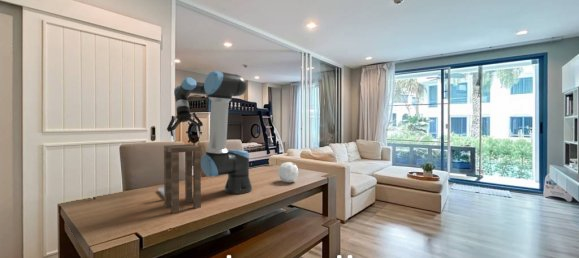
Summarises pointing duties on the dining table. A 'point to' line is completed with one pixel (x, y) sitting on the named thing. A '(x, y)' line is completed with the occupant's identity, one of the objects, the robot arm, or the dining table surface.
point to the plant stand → (173, 175)
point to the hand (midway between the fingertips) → (186, 138)
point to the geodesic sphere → (288, 172)
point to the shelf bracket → (161, 191)
